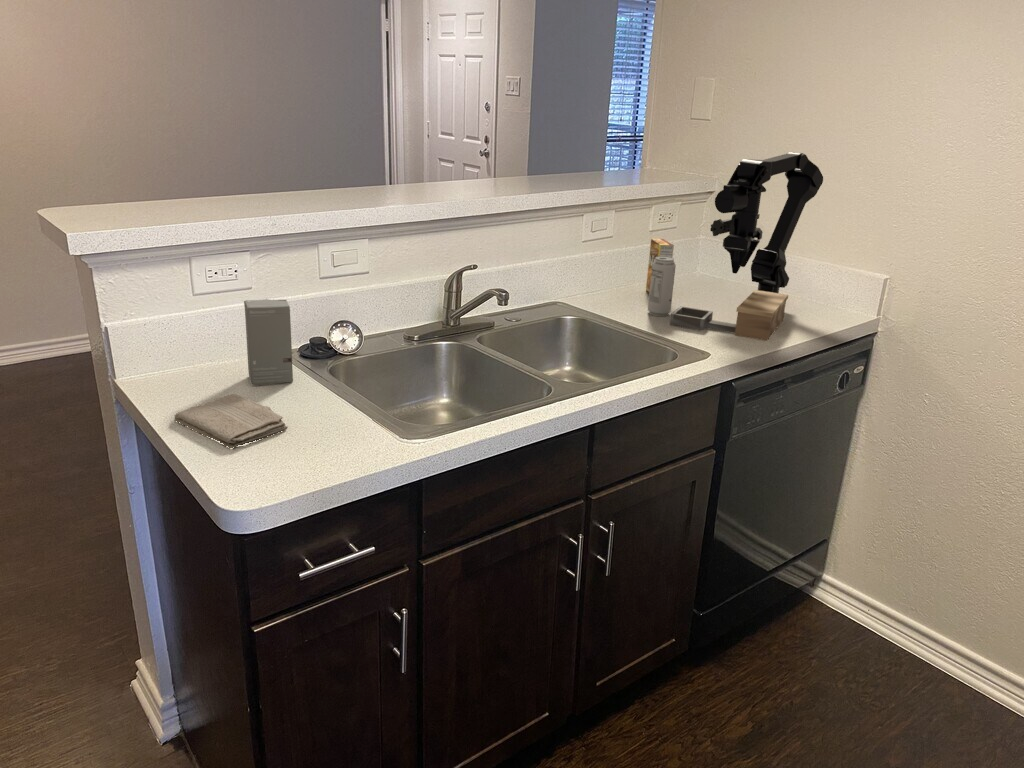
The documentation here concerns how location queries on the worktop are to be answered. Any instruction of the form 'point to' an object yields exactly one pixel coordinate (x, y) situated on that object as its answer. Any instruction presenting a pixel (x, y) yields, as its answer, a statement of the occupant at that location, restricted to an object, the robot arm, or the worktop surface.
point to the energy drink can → (661, 286)
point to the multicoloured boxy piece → (739, 316)
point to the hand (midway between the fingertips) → (738, 269)
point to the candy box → (657, 249)
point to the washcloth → (232, 420)
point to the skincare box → (268, 341)
